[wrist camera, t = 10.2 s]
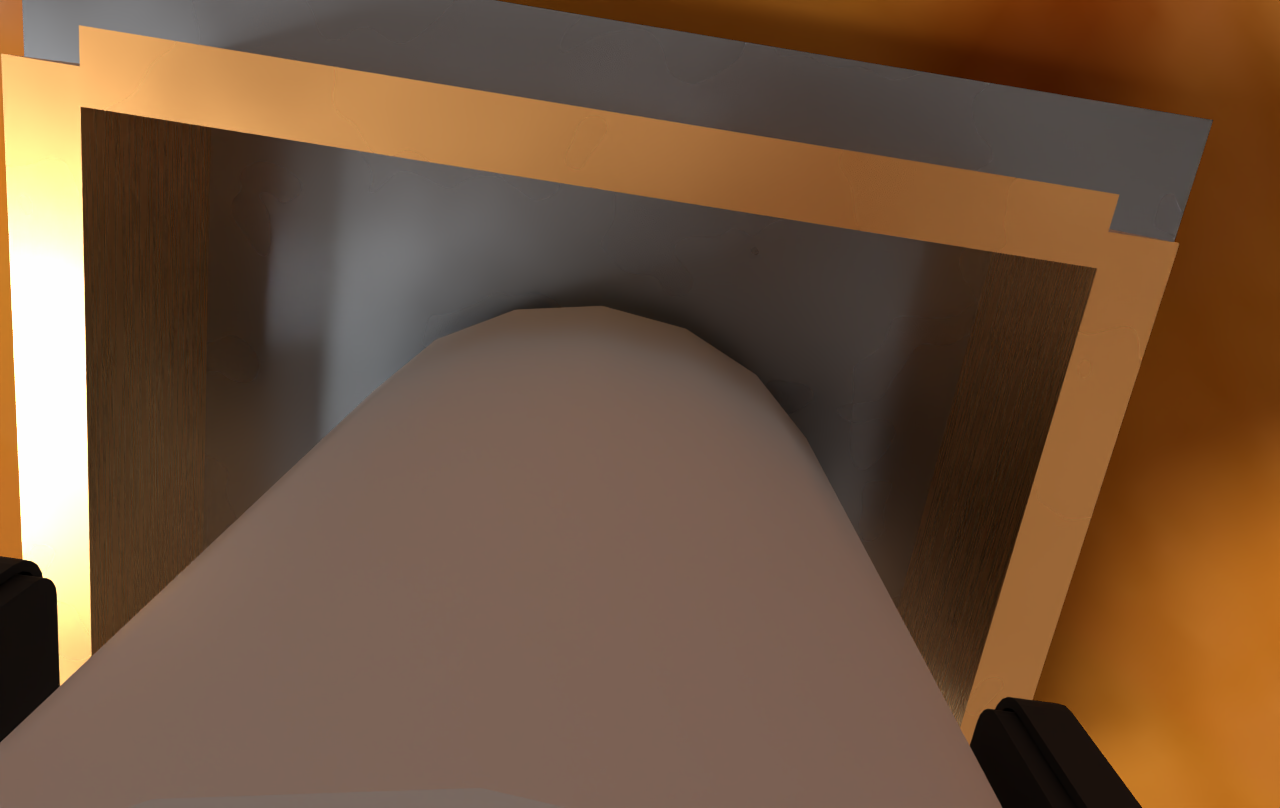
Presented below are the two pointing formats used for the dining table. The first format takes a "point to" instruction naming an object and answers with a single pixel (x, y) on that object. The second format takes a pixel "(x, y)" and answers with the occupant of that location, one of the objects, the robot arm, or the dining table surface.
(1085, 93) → the dining table surface
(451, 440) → the can
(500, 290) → the open square box
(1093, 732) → the dining table surface
